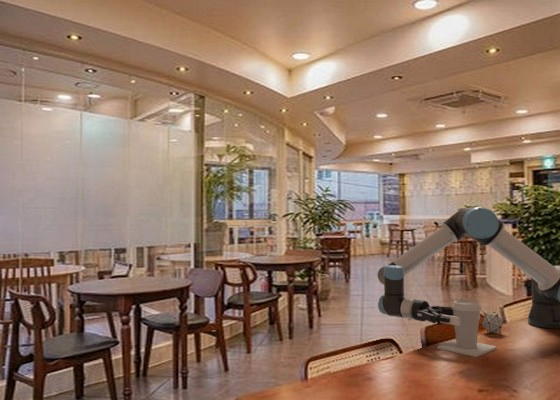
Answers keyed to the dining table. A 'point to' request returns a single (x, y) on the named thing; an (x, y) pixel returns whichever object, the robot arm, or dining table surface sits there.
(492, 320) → the game die
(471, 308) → the coffee cup
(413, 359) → the dining table surface
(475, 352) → the mat
